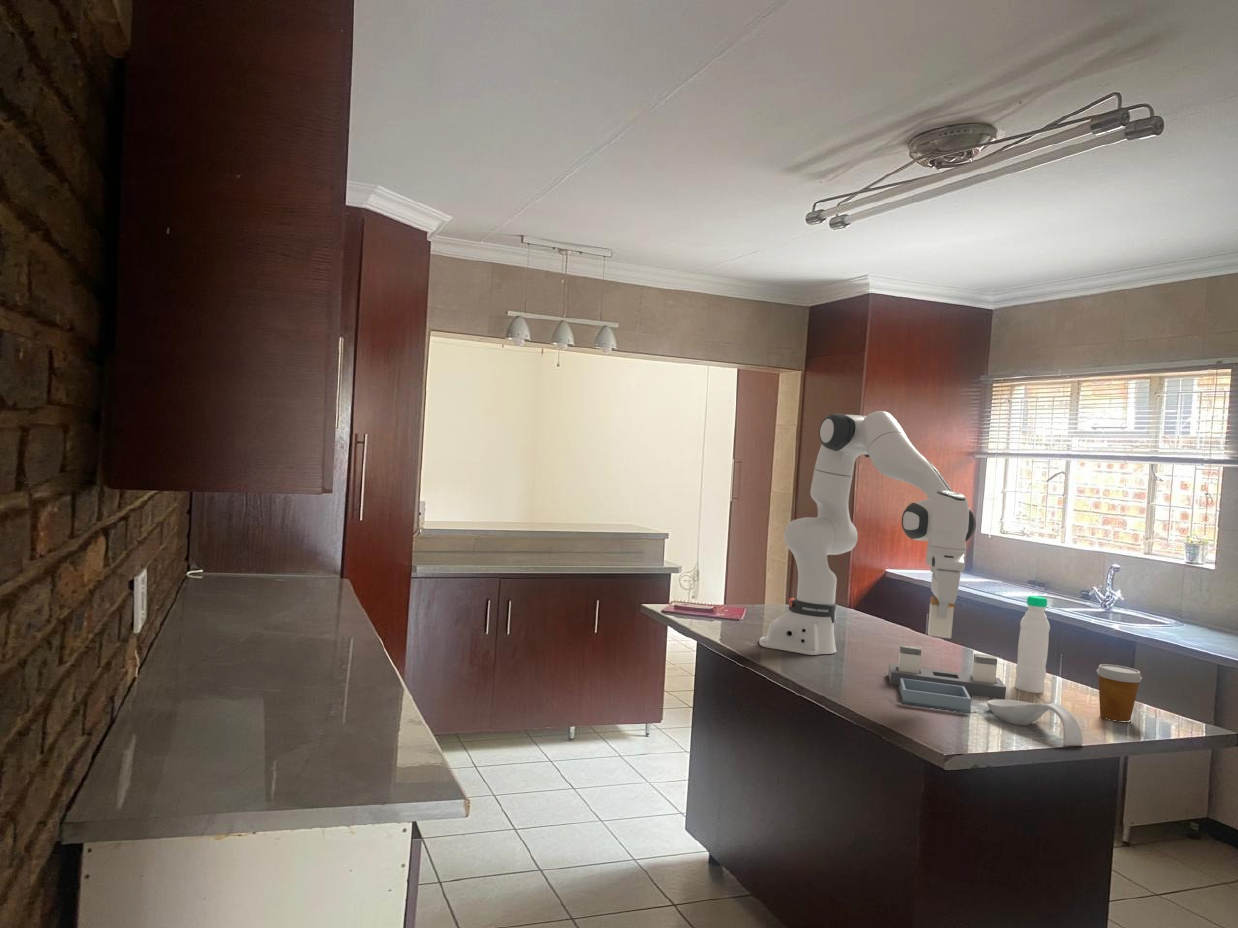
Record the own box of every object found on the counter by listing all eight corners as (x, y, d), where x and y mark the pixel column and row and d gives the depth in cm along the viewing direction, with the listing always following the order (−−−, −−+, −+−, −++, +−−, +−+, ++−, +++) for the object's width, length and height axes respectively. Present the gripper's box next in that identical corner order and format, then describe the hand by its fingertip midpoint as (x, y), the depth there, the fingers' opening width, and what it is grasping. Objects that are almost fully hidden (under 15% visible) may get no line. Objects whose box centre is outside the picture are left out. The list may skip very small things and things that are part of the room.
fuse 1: (897, 681, 229) (900, 646, 229) (896, 678, 232) (899, 644, 232) (918, 684, 228) (921, 649, 228) (917, 681, 231) (920, 646, 231)
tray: (902, 704, 211) (903, 689, 211) (898, 691, 223) (900, 677, 223) (969, 713, 208) (971, 698, 208) (963, 700, 219) (964, 686, 219)
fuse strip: (889, 687, 226) (891, 672, 226) (887, 678, 236) (889, 663, 236) (1004, 703, 220) (1006, 687, 220) (997, 693, 230) (999, 677, 230)
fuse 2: (972, 692, 225) (976, 656, 225) (970, 688, 228) (973, 653, 228) (994, 695, 224) (997, 659, 223) (991, 691, 227) (995, 656, 227)
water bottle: (1045, 698, 229) (1054, 600, 228) (1015, 693, 231) (1023, 596, 231) (1042, 691, 236) (1051, 596, 235) (1013, 687, 238) (1021, 593, 238)
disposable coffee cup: (1147, 724, 211) (1152, 673, 211) (1115, 725, 208) (1119, 673, 208) (1114, 712, 220) (1119, 663, 220) (1083, 712, 217) (1087, 663, 217)
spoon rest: (974, 713, 210) (977, 682, 209) (1015, 712, 213) (1018, 682, 213) (1053, 748, 187) (1056, 713, 187) (1097, 746, 191) (1100, 713, 191)
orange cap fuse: (928, 635, 214) (932, 598, 214) (927, 633, 217) (930, 596, 217) (951, 638, 213) (954, 600, 213) (949, 635, 216) (952, 598, 216)
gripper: (927, 553, 226) (923, 608, 226) (936, 562, 206) (930, 622, 206) (954, 556, 224) (949, 611, 224) (965, 565, 204) (959, 625, 205)
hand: (940, 616), depth 215 cm, fingers closed on orange cap fuse, 3 cm apart
